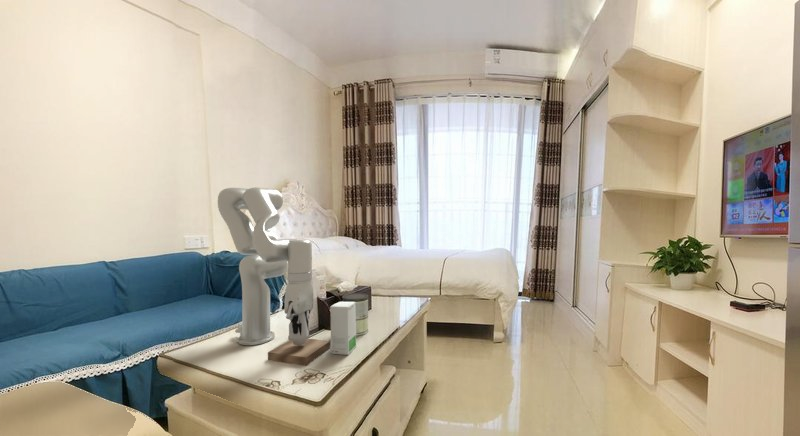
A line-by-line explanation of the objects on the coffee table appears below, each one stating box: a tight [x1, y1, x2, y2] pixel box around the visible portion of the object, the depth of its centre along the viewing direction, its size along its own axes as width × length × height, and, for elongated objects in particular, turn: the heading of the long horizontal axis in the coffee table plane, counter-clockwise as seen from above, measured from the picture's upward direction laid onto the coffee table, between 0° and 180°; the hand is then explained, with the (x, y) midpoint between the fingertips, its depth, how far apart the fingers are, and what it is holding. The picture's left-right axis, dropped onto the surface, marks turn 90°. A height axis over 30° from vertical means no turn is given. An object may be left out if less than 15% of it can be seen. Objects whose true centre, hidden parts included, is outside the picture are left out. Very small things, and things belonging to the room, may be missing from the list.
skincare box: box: [329, 301, 357, 356], centre depth 106 cm, size 8×7×16 cm
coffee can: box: [341, 292, 369, 337], centre depth 125 cm, size 10×10×14 cm
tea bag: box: [288, 319, 310, 341], centre depth 117 cm, size 4×7×10 cm, turn 160°
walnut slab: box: [267, 337, 331, 367], centre depth 103 cm, size 14×14×2 cm
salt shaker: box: [290, 312, 310, 345], centre depth 103 cm, size 6×6×13 cm
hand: (300, 332), depth 103 cm, fingers closed on salt shaker, 3 cm apart
